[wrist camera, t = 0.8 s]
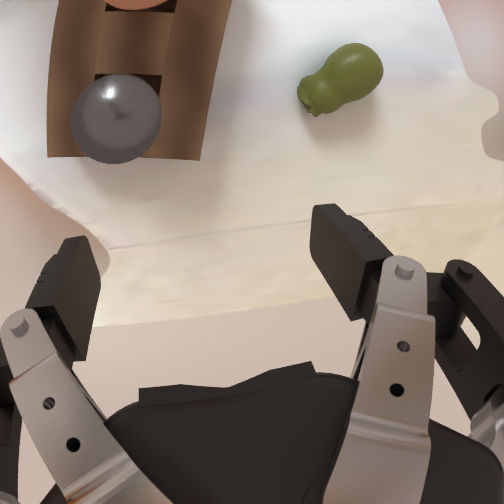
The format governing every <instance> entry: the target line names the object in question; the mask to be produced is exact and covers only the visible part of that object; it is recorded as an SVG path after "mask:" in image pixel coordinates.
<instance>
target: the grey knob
mask: <svg viewBox="0 0 504 504" xmlns="http://www.w3.org/2000/svg"><path fill="white" fill-rule="evenodd" d="M161 119H162V108H161V103H160V100H159V97H158V95H157V93H156V92H155V90H154V89H153V87H152V86H151V85H150V84H149V83H147V82H146V81H145V80H143V79H142V78H140V77H137V76H135V75H131V74H126V73H116V74H111V75H107V76H104V77H102V78H100V79H98V80H96V81H94V82H93V83H91V84H90V85H89V86H88V87H86V88H85V89H84V90H83V92H82V93H81V94H80V95H79V97H78V98H77V100H76V102H75V104H74V107H73V110H72V114H71V129H72V134H73V137H74V139H75V141H76V143H77V145H78V146H79V148H80V149H81V150H82V151H83V152H84V153H85V154H86V155H87V156H89V157H90V158H92V159H94V160H96V161H99V162H102V163H107V164H120V163H125V162H128V161H131V160H133V159H136V158H137V157H139V156H141V155H142V154H143V153H145V152H146V151H147V150H148V149H149V148H150V146H151V145H152V144H153V142H154V141H155V139H156V137H157V135H158V133H159V130H160V126H161Z"/></svg>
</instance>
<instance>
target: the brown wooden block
mask: <svg viewBox="0 0 504 504" xmlns="http://www.w3.org/2000/svg"><path fill="white" fill-rule="evenodd" d="M231 2H232V0H167V1H165V2H164V3H162V4H159V5H157V6H154V7H151V8H147V9H142V10H124V9H119V8H116V7H114V6H112V5H110V4H108V3H107V2H105V1H104V0H59V3H58V8H57V14H56V19H55V25H54V31H53V38H52V46H51V54H50V64H49V76H48V92H47V155H48V157H89V156H87V155H86V154H85V153H84V152H83V151H82V150H81V149H80V148H79V146H78V145H77V143H76V141H75V139H74V137H73V134H72V129H71V114H72V110H73V107H74V104H75V102H76V100H77V98H78V97H79V95H80V94H81V93H82V92H83V90H84V89H85V88H86V87H88V86H89V85H90V84H91V83H93V82H94V81H96V80H98V79H100V78H102V77H104V76H107V75H111V74H116V73H126V74H131V75H135V76H137V77H140V78H142V79H143V80H145V81H146V82H147V83H149V84H150V85H151V86H152V87H153V89H154V90H155V92H156V93H157V95H158V97H159V100H160V103H161V108H162V119H161V126H160V130H159V133H158V135H157V137H156V139H155V141H154V142H153V144H152V145H151V146H150V148H149V149H148V150H147V151H146V152H145V153H143V154H142V155H141V156H139V157H143V158H166V159H184V160H198V161H200V155H201V148H202V142H203V136H204V130H205V125H206V119H207V113H208V108H209V103H210V97H211V92H212V87H213V82H214V77H215V72H216V67H217V62H218V58H219V53H220V48H221V44H222V39H223V35H224V31H225V26H226V22H227V18H228V14H229V10H230V6H231Z"/></svg>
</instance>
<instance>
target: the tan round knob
mask: <svg viewBox="0 0 504 504" xmlns="http://www.w3.org/2000/svg"><path fill="white" fill-rule="evenodd" d="M104 1H105V2H107V3H108V4H110V5H112V6H114V7H116V8H119V9H124V10H142V9H147V8H151V7H154V6H157V5H159V4H162V3H164V2H165V1H167V0H104Z"/></svg>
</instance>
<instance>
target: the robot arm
mask: <svg viewBox="0 0 504 504" xmlns="http://www.w3.org/2000/svg"><path fill="white" fill-rule="evenodd" d="M310 253H311V256H312V259H313V261H314V262H315V264H316V265H317V267H318V269H319V270H320V272H321V273H322V275H323V276H324V278H325V280H326V281H327V283H328V285H329V286H330V288H331V289H332V291H333V293H334V294H335V296H336V298H337V299H338V301H339V302H340V304H341V306H342V307H343V309H344V311H345V312H346V314H347V316H348V317H349V319H350V321H354V320H358V319H362V318H364V319H365V321H366V324H365V327H364V330H363V334H362V338H361V342H360V346H359V349H358V353H357V357H356V360H355V364H354V367H353V370H352V374H351V377H350V378H349V377H345V376H342V375H337V374H332V373H321V372H319V373H318V372H317V373H316V372H315V369H314V367H313V365H312V362H311V361H309V362H304V363H300V364H296V365H292V366H286V367H282V368H277V369H272V370H269V371H267V372H264V373H262V374H260V375H257V376H255V377H253V378H250V379H248V380H246V381H243V382H241V383H238V384H236V385H234V386H231V387H226V388H219V387H205V386H193V385H183V384H179V385H171V386H160V387H150V388H139V401H138V402H135V403H132V404H130V405H128V406H125V407H124V408H122V409H120V410H119V411H117V412H116V413H114V414H113V415H112V416H110V417H109V418H108V419H107V418H106V416H105V415H104V414H103V413H102V411H101V410H100V409H99V407H98V406H97V405H96V403H95V402H94V400H93V399H92V398H91V396H90V395H89V394H88V392H87V391H86V389H85V388H84V386H83V385H82V383H81V382H80V380H79V379H78V377H77V376H76V374H75V373H74V371H73V370H72V365H73V362H74V361H86V356H87V350H88V345H89V339H90V334H91V329H92V324H93V319H94V315H95V310H96V306H97V301H98V297H99V293H100V288H101V280H100V274H99V271H98V268H97V265H96V263H95V259H94V256H93V254H92V251H91V248H90V245H89V241H88V239H87V237H86V236H78V237H72V238H66V239H65V240H64V241H63V243H62V245H61V247H60V249H59V251H58V253H57V254H55V255H53V256H52V258H51V259H50V260H49V261H48V262H47V263H46V264H45V266H44V268H43V270H42V272H41V276H39V278H38V280H37V284H35V286H34V288H33V291H32V293H31V295H30V297H29V300H28V302H27V304H26V307H25V309H21V310H18V311H16V312H14V313H13V314H11V315H10V316H9V317H8V318H7V319H6V320H5V322H4V323H3V325H2V327H1V329H0V504H20V503H19V502H18V459H19V445H20V433H21V425H22V419H23V421H24V423H25V425H26V428H27V430H28V431H29V434H30V436H31V438H32V440H33V442H34V444H35V446H36V448H37V450H38V452H39V454H40V455H41V457H42V459H43V461H44V463H45V464H46V466H47V468H48V470H49V472H50V473H51V475H52V477H53V478H54V480H55V482H56V484H55V485H54V486H53V488H52V489H51V490H50V491H49V492H48V494H47V495H46V496H45V498H44V499H43V500H42V502H41V503H40V504H504V297H503V296H502V295H501V294H500V293H499V291H498V290H497V289H496V288H495V287H494V286H493V285H492V284H491V283H490V281H489V280H488V279H487V278H486V277H485V276H484V275H483V274H482V273H481V272H480V271H479V270H478V269H477V268H476V267H475V266H473V265H472V264H470V263H468V262H466V261H463V260H456V259H455V260H451V261H449V262H448V263H447V265H446V268H445V270H444V273H429V272H426V271H425V269H424V267H423V266H422V265H421V264H420V263H418V262H417V261H415V260H413V259H411V258H408V257H405V256H394V255H393V254H392V253H391V252H390V251H389V250H388V249H387V247H386V246H385V245H384V244H383V243H382V242H381V241H380V240H379V239H378V238H377V237H375V235H374V234H373V233H372V232H371V231H369V229H368V228H367V227H366V226H365V225H364V224H363V223H362V222H361V221H359V220H358V219H356V218H354V217H352V216H350V215H346V214H345V212H344V211H343V210H342V209H341V208H340V207H339V206H338V205H336V204H335V203H333V204H323V205H315V206H314V207H313V211H312V221H311V233H310ZM466 316H467V317H468V318H469V320H470V321H471V322H472V323H473V325H474V326H475V327H476V329H477V330H478V332H479V334H480V340H481V341H480V346H479V348H478V349H477V350H476V348H475V347H474V345H473V344H472V342H471V341H470V340H469V338H468V337H467V335H466V334H465V333H464V331H463V330H462V328H461V327H460V326H461V324H462V323H463V320H464V319H465V317H466ZM434 358H435V359H436V361H437V362H438V364H439V366H440V367H441V369H442V371H443V372H444V374H445V375H446V377H447V379H448V381H449V383H450V384H451V386H452V388H453V390H454V391H455V393H456V395H457V397H458V398H459V400H460V402H461V404H462V406H463V407H464V409H465V411H466V413H467V415H468V417H469V418H470V421H471V426H470V427H471V433H470V434H469V436H468V437H467V436H464V435H463V434H460V433H458V432H456V431H454V430H452V429H450V428H448V427H446V426H443V425H442V424H440V423H438V422H435V421H433V420H431V419H430V418H429V416H430V408H431V399H432V388H433V387H432V386H433V376H434Z"/></svg>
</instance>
